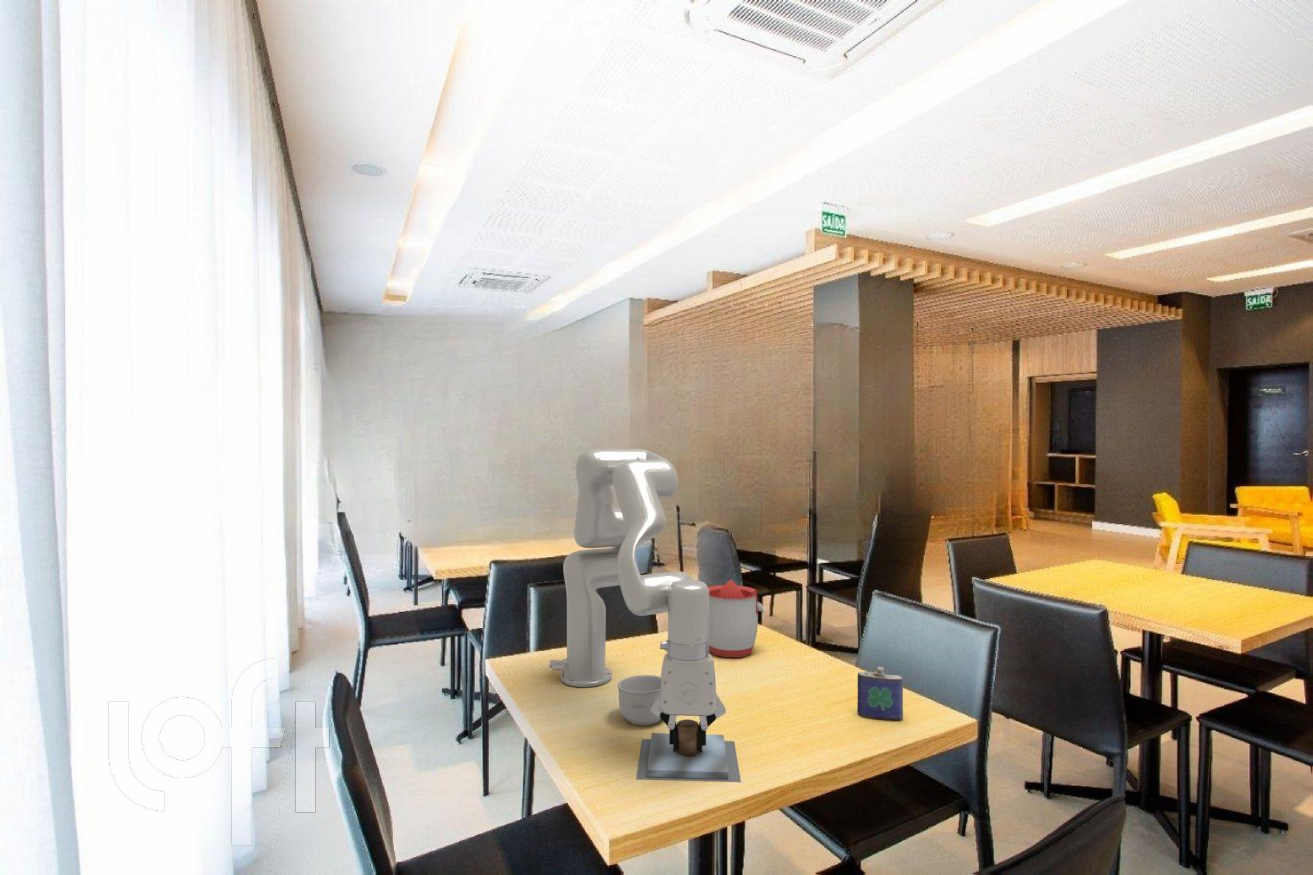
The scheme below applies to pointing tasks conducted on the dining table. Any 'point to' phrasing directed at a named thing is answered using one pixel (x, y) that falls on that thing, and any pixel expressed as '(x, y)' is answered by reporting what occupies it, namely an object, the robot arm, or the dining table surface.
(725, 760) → the lid
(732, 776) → the tray
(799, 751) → the dining table surface
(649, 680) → the teacup
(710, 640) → the citrus juicer
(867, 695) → the flask
